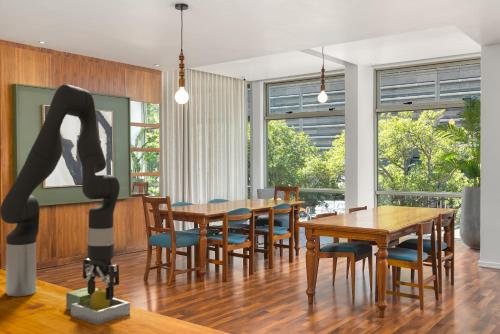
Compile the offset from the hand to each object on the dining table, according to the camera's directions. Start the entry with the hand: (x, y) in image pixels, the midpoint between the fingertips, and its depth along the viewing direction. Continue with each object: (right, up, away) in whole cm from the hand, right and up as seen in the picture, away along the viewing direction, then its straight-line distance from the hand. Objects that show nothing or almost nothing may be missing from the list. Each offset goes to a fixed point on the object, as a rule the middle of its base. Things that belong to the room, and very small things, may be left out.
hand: (100, 296), depth 152 cm
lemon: (0, -6, 0) cm, 6 cm away
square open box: (-3, -5, +3) cm, 7 cm away
